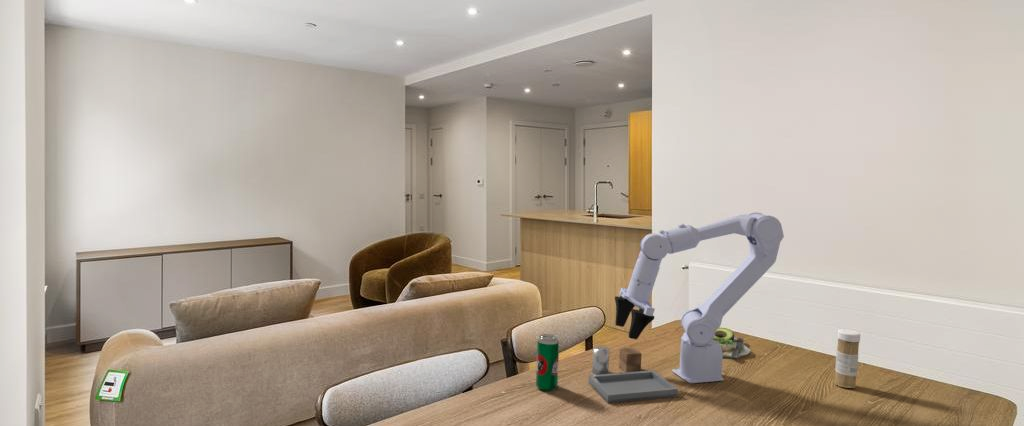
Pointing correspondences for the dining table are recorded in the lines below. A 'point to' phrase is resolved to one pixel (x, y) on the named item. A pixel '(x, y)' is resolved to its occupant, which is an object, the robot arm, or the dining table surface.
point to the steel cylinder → (600, 360)
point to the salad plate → (730, 344)
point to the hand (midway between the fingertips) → (625, 331)
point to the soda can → (547, 362)
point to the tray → (632, 386)
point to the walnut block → (630, 360)
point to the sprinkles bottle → (847, 358)
